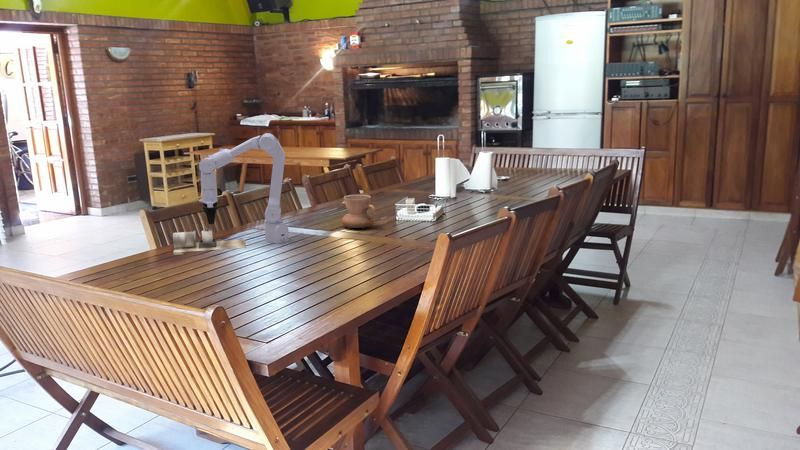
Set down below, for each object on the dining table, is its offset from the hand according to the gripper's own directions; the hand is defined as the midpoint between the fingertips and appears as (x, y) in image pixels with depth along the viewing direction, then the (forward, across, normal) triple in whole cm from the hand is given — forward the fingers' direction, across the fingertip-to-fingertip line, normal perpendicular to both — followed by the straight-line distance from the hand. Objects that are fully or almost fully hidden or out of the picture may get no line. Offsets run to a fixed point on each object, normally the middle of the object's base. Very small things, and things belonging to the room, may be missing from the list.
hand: (211, 222), depth 255 cm
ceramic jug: (+10, -14, +63) cm, 66 cm away
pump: (+8, +5, -2) cm, 10 cm away
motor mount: (+9, +5, 0) cm, 11 cm away
